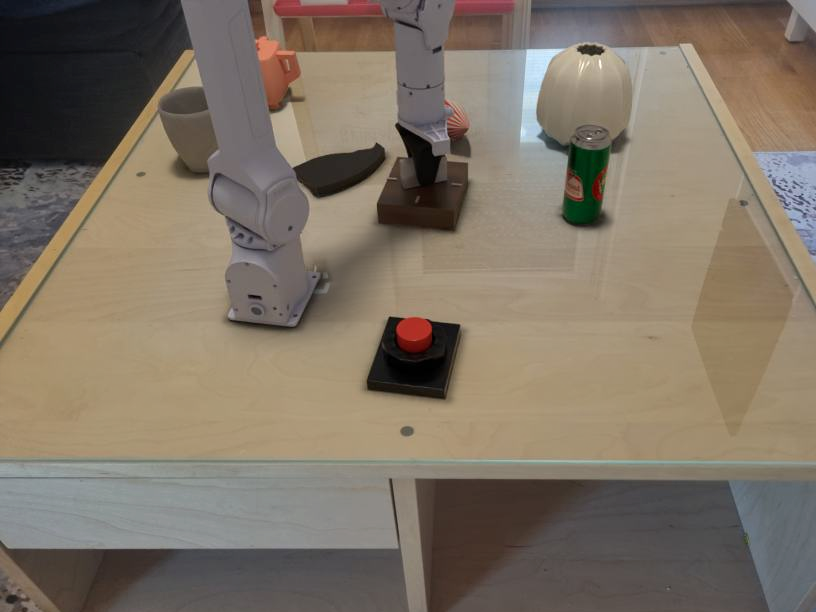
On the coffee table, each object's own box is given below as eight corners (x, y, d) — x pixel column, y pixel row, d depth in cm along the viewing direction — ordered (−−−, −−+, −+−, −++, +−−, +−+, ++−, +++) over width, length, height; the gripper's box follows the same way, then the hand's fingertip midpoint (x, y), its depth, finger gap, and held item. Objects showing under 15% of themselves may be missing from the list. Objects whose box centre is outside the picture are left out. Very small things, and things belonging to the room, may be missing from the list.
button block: (444, 398, 75) (444, 377, 73) (367, 388, 76) (364, 368, 74) (460, 332, 82) (460, 311, 80) (389, 324, 83) (387, 303, 81)
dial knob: (404, 189, 98) (403, 163, 95) (400, 183, 99) (399, 157, 96) (447, 180, 99) (447, 155, 97) (443, 174, 100) (442, 149, 98)
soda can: (555, 209, 100) (564, 126, 91) (588, 202, 101) (600, 119, 93) (572, 230, 96) (583, 145, 88) (606, 222, 98) (620, 138, 89)
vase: (528, 152, 111) (535, 63, 102) (543, 110, 121) (550, 25, 111) (622, 164, 108) (637, 74, 99) (629, 120, 118) (644, 34, 109)
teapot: (211, 98, 124) (197, 39, 117) (275, 78, 129) (265, 21, 122) (245, 123, 117) (232, 63, 110) (310, 101, 123) (302, 42, 116)
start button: (428, 355, 76) (428, 342, 74) (393, 350, 76) (392, 338, 75) (435, 331, 78) (434, 318, 77) (401, 327, 79) (400, 315, 77)
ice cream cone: (414, 131, 124) (478, 156, 109) (382, 118, 120) (443, 142, 105) (427, 95, 123) (494, 115, 108) (395, 80, 119) (459, 99, 104)
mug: (243, 171, 107) (229, 107, 100) (179, 184, 104) (161, 119, 97) (227, 134, 115) (213, 72, 108) (168, 145, 112) (150, 83, 105)
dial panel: (454, 230, 96) (454, 209, 94) (377, 222, 97) (375, 202, 95) (468, 181, 105) (469, 161, 103) (397, 175, 106) (396, 155, 104)
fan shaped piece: (402, 170, 107) (402, 159, 106) (317, 199, 101) (315, 189, 100) (373, 146, 112) (372, 136, 111) (290, 172, 106) (288, 162, 105)
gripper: (474, 98, 85) (472, 200, 95) (431, 51, 95) (433, 147, 105) (416, 109, 84) (420, 212, 93) (378, 59, 93) (385, 157, 103)
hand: (424, 178), depth 99 cm, fingers closed on dial knob, 2 cm apart
